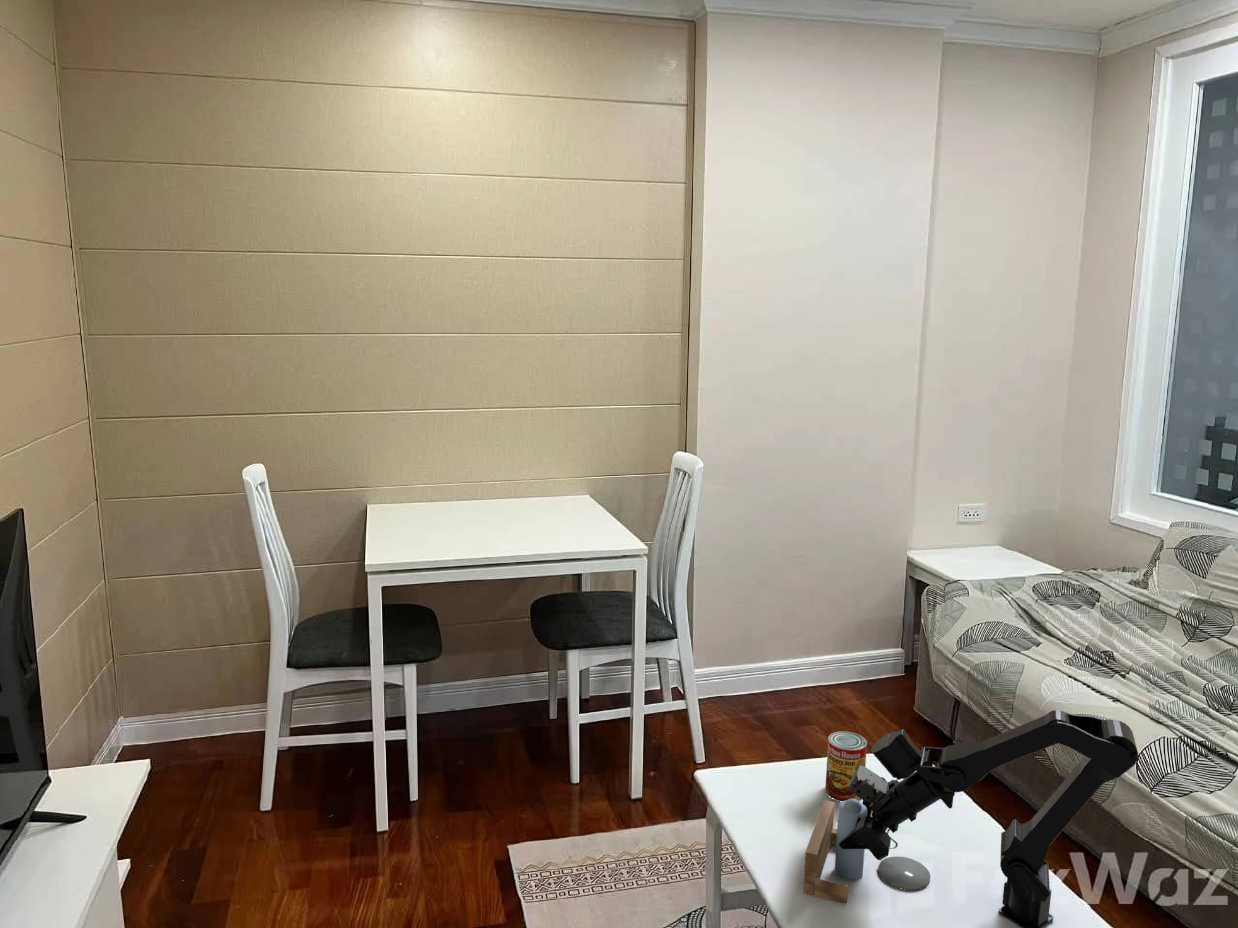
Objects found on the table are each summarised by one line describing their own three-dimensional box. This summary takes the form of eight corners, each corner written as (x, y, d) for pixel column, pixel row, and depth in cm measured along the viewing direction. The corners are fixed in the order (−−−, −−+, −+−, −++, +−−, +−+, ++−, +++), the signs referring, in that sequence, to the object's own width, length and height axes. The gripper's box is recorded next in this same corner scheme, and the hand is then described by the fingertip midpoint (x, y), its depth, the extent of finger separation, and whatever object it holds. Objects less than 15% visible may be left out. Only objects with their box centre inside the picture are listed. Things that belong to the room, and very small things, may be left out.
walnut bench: (861, 846, 177) (863, 808, 176) (846, 903, 161) (849, 862, 159) (821, 837, 180) (823, 799, 178) (803, 892, 164) (805, 852, 162)
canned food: (819, 794, 195) (822, 742, 193) (833, 778, 201) (836, 727, 199) (855, 807, 190) (859, 753, 188) (868, 790, 197) (872, 737, 195)
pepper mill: (868, 874, 169) (873, 801, 166) (849, 884, 166) (854, 810, 163) (847, 860, 173) (852, 789, 170) (828, 870, 170) (833, 797, 167)
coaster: (940, 878, 168) (940, 875, 168) (908, 896, 163) (908, 893, 163) (900, 853, 175) (900, 850, 175) (868, 870, 170) (868, 867, 170)
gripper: (885, 735, 172) (822, 777, 178) (872, 785, 155) (802, 830, 161) (926, 783, 170) (861, 824, 177) (918, 839, 153) (846, 882, 160)
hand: (842, 838), depth 169 cm, fingers closed on pepper mill, 5 cm apart
